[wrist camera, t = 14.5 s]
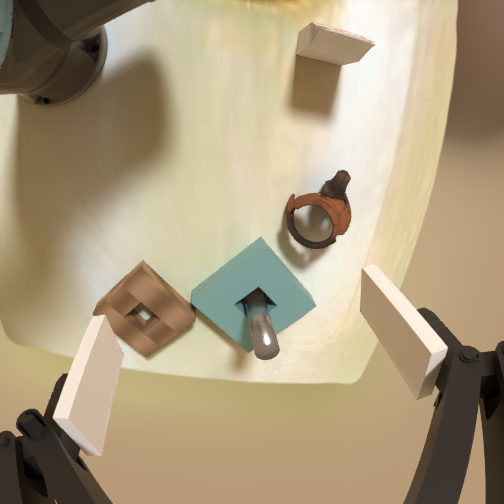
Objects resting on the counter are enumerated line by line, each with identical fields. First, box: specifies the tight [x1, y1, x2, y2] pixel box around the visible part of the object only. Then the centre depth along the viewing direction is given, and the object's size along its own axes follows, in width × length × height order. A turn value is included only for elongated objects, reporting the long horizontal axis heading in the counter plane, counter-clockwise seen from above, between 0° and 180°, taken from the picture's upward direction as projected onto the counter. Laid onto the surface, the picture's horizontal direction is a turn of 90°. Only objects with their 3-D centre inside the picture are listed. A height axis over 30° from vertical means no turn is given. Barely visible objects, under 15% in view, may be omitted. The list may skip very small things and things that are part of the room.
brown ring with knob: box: [286, 170, 351, 249], centre depth 45 cm, size 12×10×8 cm
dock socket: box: [191, 237, 316, 352], centre depth 51 cm, size 14×14×4 cm
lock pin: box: [244, 287, 280, 360], centre depth 47 cm, size 3×3×14 cm
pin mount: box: [93, 261, 196, 357], centre depth 50 cm, size 12×12×4 cm
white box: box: [296, 22, 374, 66], centre depth 33 cm, size 4×7×10 cm, turn 83°
